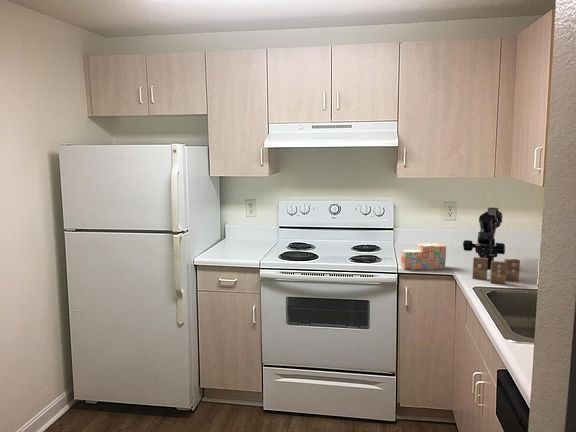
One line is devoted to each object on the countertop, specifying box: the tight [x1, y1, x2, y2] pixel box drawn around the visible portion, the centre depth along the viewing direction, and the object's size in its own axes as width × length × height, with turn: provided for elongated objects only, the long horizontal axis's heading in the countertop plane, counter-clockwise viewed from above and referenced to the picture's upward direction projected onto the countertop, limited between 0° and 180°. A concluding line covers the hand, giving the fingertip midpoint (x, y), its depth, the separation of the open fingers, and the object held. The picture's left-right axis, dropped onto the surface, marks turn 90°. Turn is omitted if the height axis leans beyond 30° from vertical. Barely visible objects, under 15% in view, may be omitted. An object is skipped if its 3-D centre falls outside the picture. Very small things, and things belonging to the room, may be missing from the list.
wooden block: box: [472, 256, 488, 281], centre depth 226 cm, size 3×6×10 cm, turn 61°
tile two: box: [504, 258, 521, 282], centre depth 223 cm, size 3×6×10 cm, turn 93°
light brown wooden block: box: [489, 260, 506, 285], centre depth 219 cm, size 3×6×10 cm, turn 77°
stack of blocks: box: [400, 243, 447, 271], centre depth 247 cm, size 21×6×12 cm, turn 94°
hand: (481, 261), depth 229 cm, fingers closed
